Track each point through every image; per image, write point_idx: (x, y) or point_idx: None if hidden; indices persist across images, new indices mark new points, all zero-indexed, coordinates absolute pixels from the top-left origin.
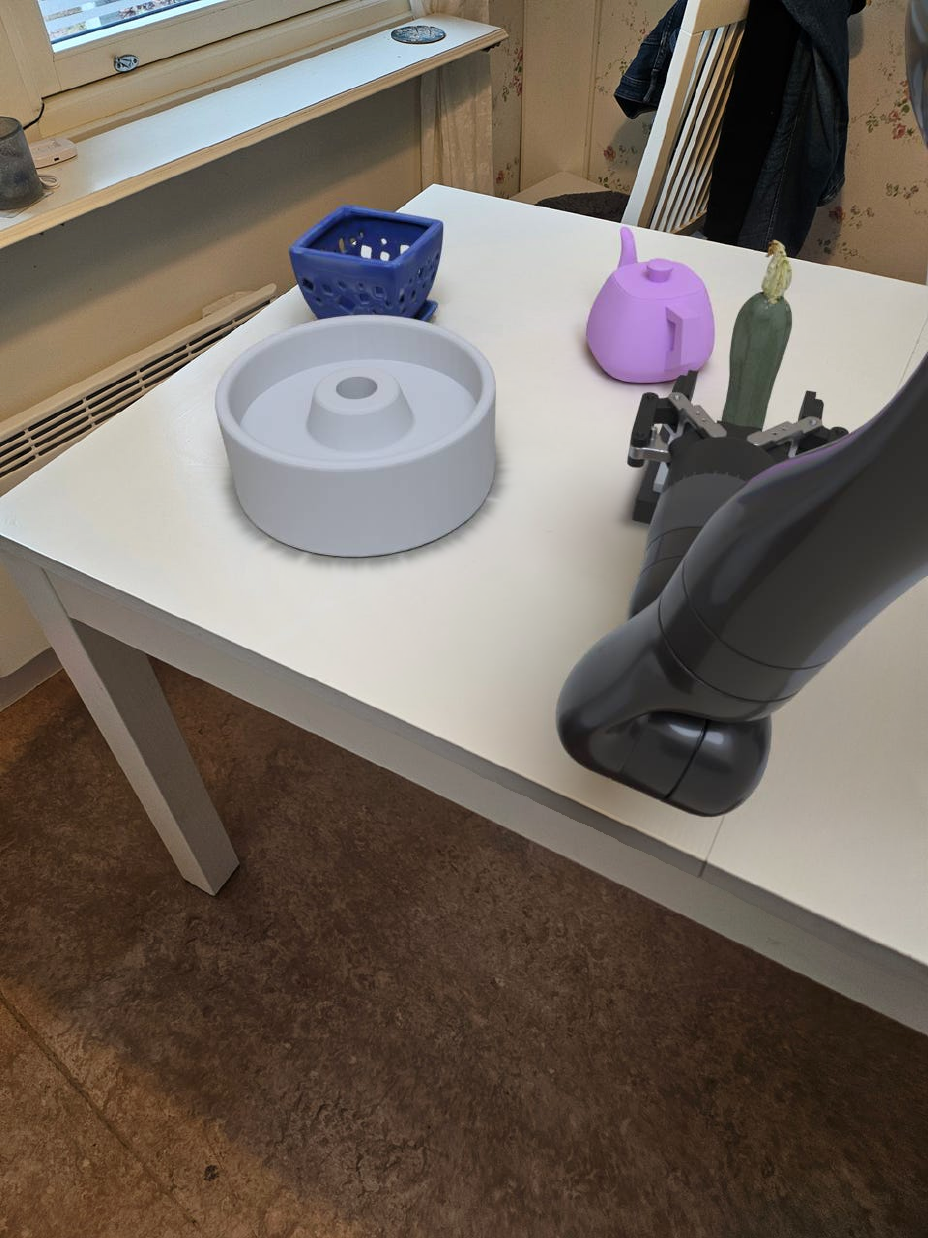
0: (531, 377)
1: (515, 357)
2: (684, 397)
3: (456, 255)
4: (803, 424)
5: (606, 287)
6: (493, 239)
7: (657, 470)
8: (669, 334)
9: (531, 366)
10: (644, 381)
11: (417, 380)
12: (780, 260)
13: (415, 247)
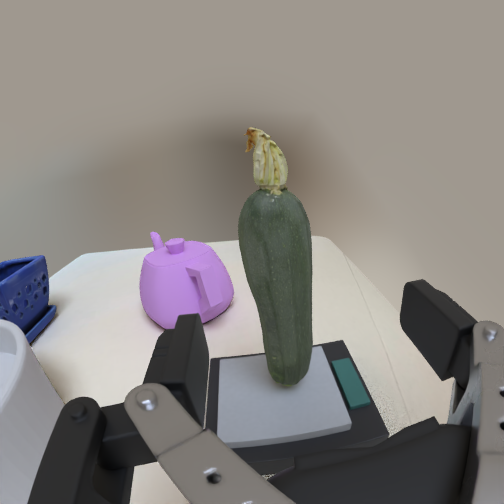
0: (108, 343)
1: (99, 331)
2: (167, 398)
3: (81, 279)
4: (487, 349)
5: (142, 267)
6: (101, 267)
7: (217, 419)
8: (195, 287)
9: (109, 335)
10: None
11: (5, 367)
12: (266, 144)
13: (18, 271)
